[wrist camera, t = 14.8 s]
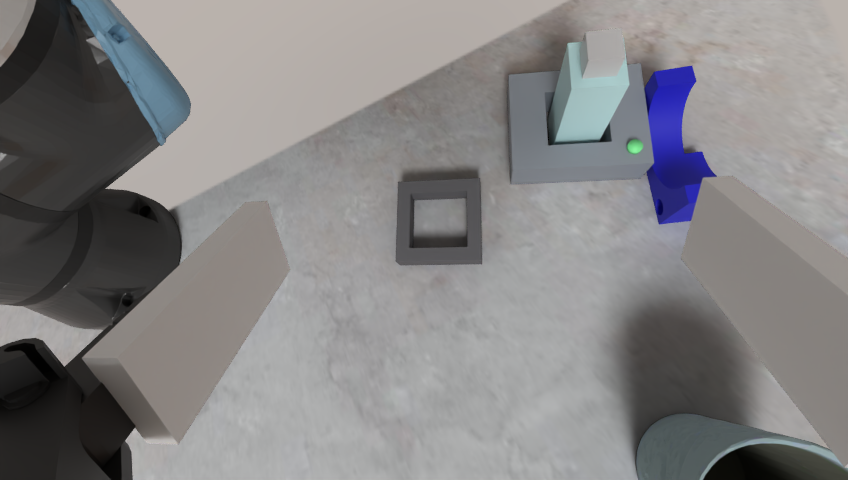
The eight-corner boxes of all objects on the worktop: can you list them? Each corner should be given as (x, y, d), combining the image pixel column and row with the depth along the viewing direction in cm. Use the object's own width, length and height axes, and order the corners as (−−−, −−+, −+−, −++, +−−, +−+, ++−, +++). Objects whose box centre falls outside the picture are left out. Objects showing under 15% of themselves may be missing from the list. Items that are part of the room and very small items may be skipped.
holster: (400, 265, 40) (395, 261, 38) (402, 189, 42) (398, 181, 40) (481, 264, 39) (481, 259, 37) (480, 185, 41) (479, 178, 39)
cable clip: (710, 218, 37) (751, 195, 31) (658, 224, 37) (688, 203, 32) (679, 103, 40) (710, 62, 34) (630, 110, 40) (654, 71, 35)
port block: (510, 184, 40) (512, 167, 36) (507, 95, 43) (508, 71, 39) (640, 178, 38) (656, 160, 35) (628, 86, 41) (642, 59, 37)
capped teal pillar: (550, 155, 40) (577, 71, 28) (547, 119, 41) (572, 23, 29) (592, 153, 40) (639, 66, 27) (589, 116, 41) (632, 16, 28)
